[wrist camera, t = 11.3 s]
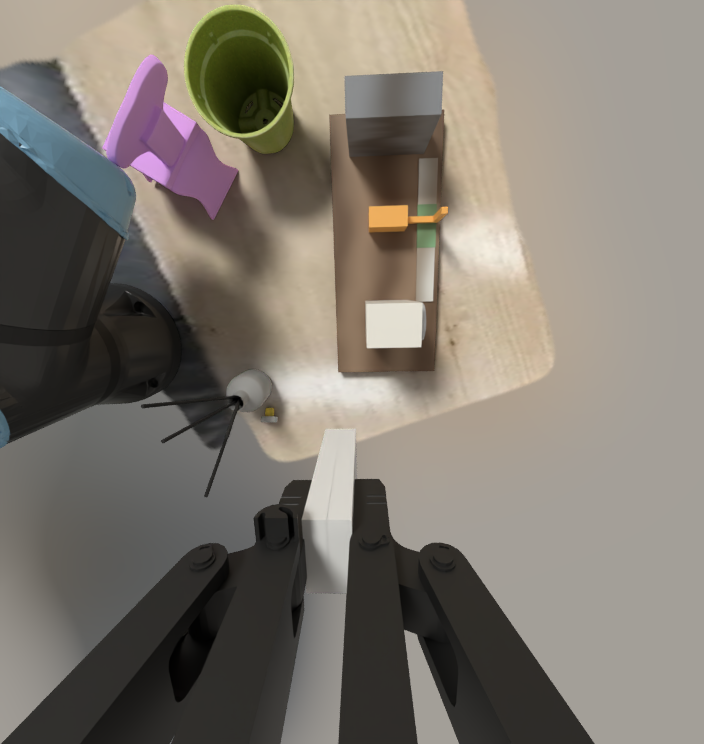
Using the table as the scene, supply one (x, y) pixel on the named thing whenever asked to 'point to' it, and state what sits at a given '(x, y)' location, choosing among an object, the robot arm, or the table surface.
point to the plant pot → (241, 76)
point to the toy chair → (166, 142)
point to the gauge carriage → (394, 323)
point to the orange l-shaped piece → (398, 218)
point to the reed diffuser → (234, 404)
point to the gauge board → (386, 188)
